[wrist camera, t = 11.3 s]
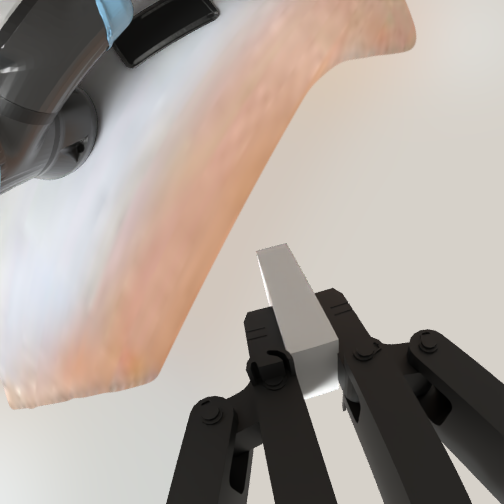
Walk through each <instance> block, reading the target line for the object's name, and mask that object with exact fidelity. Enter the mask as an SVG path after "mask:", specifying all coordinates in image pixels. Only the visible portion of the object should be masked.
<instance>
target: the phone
mask: <svg viewBox="0 0 504 504" xmlns="http://www.w3.org/2000/svg"><path fill="white" fill-rule="evenodd" d="M217 16H218V12H217V10H216V9H215V7H214V6H213V5H212V3H211V2H210V1H209V0H160V1H158V2H156V3H155V4H153V5H151V6H150V7H148V8H146V9H145V10H143V11H141V12H140V13H138V14H137V15H135V16H134V17H133V18H132V21H131V23H130V24H129V25H128V27H127V28H126V29H125V30H124V31H123V32H122V33H121V34H120V35H119V36H118V38H117V39H116V40H115V41H114V42H113V44H112V46H113V48H114V49H115V51H116V52H117V54H118V55H119V56H120V58H121V59H122V61H123V62H124V64H125V65H126V66H127V67H129V68H136V67H137V66H139V65H140V64H142V63H143V62H145V61H146V60H147V59H149V58H150V57H152V56H153V55H155V54H156V53H158V52H159V51H161V50H163V49H164V48H166V47H167V46H169V45H171V44H172V43H174V42H175V41H177V40H179V39H181V38H182V37H184V36H186V35H188V34H189V33H191V32H193V31H195V30H197V29H198V28H200V27H202V26H204V25H206V24H208V23H210V22H212V21H214V20H215V19H216V18H217Z"/></svg>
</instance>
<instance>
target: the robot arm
mask: <svg viewBox="0 0 504 504" xmlns="http://www.w3.org/2000/svg"><path fill="white" fill-rule="evenodd" d="M132 18H133V5H132V2H131V0H0V195H1V194H3V193H5V192H7V191H9V190H10V189H12V188H14V187H16V186H18V185H20V184H22V183H24V182H26V181H28V180H30V179H32V178H37V179H43V180H55V179H59V178H62V177H64V176H66V175H68V174H70V173H72V172H74V171H75V170H77V169H78V168H79V167H80V166H81V165H82V164H83V163H84V162H85V160H86V159H87V157H88V156H89V154H90V152H91V150H92V148H93V145H94V142H95V139H96V134H97V114H96V110H95V107H94V104H93V102H92V100H91V98H90V97H89V96H88V94H87V93H86V92H85V91H83V90H82V89H81V88H79V87H77V85H78V84H79V83H80V81H81V80H82V79H83V77H84V76H85V75H86V74H87V72H88V71H89V70H90V69H91V67H92V66H93V65H94V64H95V63H96V61H97V60H98V59H99V58H100V57H101V56H102V54H103V53H104V52H105V51H108V50H109V49H110V48H111V47H112V44H113V42H114V41H115V40H116V39H117V38H118V36H119V35H120V34H121V33H122V32H123V31H124V30H125V29H126V28H127V27H128V25H129V24H130V23H131V21H132ZM256 253H257V258H258V262H259V266H260V270H261V274H262V278H263V283H264V287H265V291H266V295H267V298H268V302H269V305H270V307H267V308H263V309H259V310H255V311H252V312H248V313H247V315H246V318H245V320H244V326H245V332H246V338H247V344H248V350H249V355H250V359H249V360H248V362H247V367H246V371H247V373H248V376H249V378H250V382H249V384H248V385H247V387H246V388H245V389H244V390H242V391H241V392H239V393H237V394H236V395H234V396H232V397H230V398H228V399H225V398H223V397H218V396H212V397H207V398H204V399H202V400H200V401H199V402H198V403H197V404H196V405H194V407H193V409H192V411H191V413H190V416H189V420H188V423H187V427H186V431H185V434H184V438H183V442H182V445H181V449H180V453H179V457H178V460H177V464H176V468H175V472H174V476H173V480H172V483H171V487H170V491H169V495H168V499H167V503H166V504H247V496H248V488H249V481H250V473H251V465H252V457H253V449H254V448H255V447H257V446H259V445H261V444H262V443H263V445H264V450H265V455H266V460H267V466H268V471H269V475H270V480H271V486H272V491H273V495H274V500H275V504H337V501H336V498H335V494H334V491H333V488H332V485H331V482H330V479H329V476H328V472H327V469H326V466H325V463H324V460H323V456H322V453H321V450H320V447H319V444H318V441H317V438H316V435H315V431H314V428H313V425H312V422H311V419H310V416H309V413H308V409H307V406H306V403H305V399H308V398H311V397H315V396H317V395H321V394H324V393H327V392H330V391H333V390H336V389H339V383H340V386H341V388H342V390H343V403H342V406H343V411H345V410H346V408H347V410H348V413H349V415H350V418H351V420H352V423H353V425H354V428H355V430H356V432H357V435H358V437H359V440H360V442H361V445H362V447H363V450H364V452H365V455H366V457H367V460H368V462H369V465H370V468H371V470H372V473H373V475H374V478H375V480H376V483H377V486H378V488H379V491H380V493H381V496H382V499H383V502H384V504H472V503H471V500H470V498H469V496H468V494H467V492H466V490H465V487H464V485H463V483H462V481H461V479H460V477H459V475H458V473H457V471H456V469H455V467H454V465H453V463H452V461H451V459H450V457H449V455H448V453H447V451H446V449H445V448H444V446H443V444H442V442H443V443H444V445H445V446H446V447H447V448H448V449H449V450H450V451H451V452H452V453H453V454H454V455H455V456H456V457H457V458H458V459H459V460H460V461H461V462H462V463H463V464H464V465H465V466H466V467H467V468H468V469H469V470H470V471H471V473H472V474H473V475H474V476H475V477H476V478H477V479H478V480H479V481H480V482H481V483H482V484H483V485H484V486H485V487H486V488H487V489H488V490H489V491H490V492H491V493H492V495H493V496H494V497H495V498H496V499H497V500H498V501H499V502H500V503H501V504H504V384H503V383H502V382H500V381H499V380H498V379H497V378H496V377H494V376H493V375H492V374H491V373H490V372H488V371H487V370H486V369H485V368H484V367H482V366H481V365H480V364H478V363H477V362H476V361H475V360H474V359H472V358H471V357H470V356H469V355H467V354H466V353H465V352H463V351H462V350H461V349H460V348H459V347H457V346H456V345H455V344H453V343H452V342H451V341H449V340H448V339H447V338H446V337H444V336H443V335H442V334H440V333H438V332H437V331H434V330H428V329H427V330H420V331H419V332H417V333H415V334H414V335H413V336H412V337H411V339H410V342H409V343H402V344H392V345H391V344H383V343H381V342H380V341H379V340H377V339H375V338H373V337H371V336H370V335H369V334H368V332H367V331H366V329H365V327H364V326H363V324H362V323H361V321H360V320H359V318H358V317H357V315H356V313H355V312H354V311H353V310H352V307H351V306H350V304H348V301H347V300H346V298H345V297H344V295H343V294H342V293H340V292H339V291H337V290H335V289H334V288H331V289H328V290H324V291H321V292H318V293H314V292H313V290H312V288H311V286H310V285H309V283H308V281H307V279H306V277H305V275H304V274H303V272H302V270H301V268H300V266H299V265H298V263H297V261H296V259H295V257H294V256H293V254H292V252H291V250H290V248H289V247H288V245H287V243H285V244H281V245H277V246H274V247H270V248H266V249H262V250H258V251H256ZM441 441H442V442H441Z"/></svg>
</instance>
